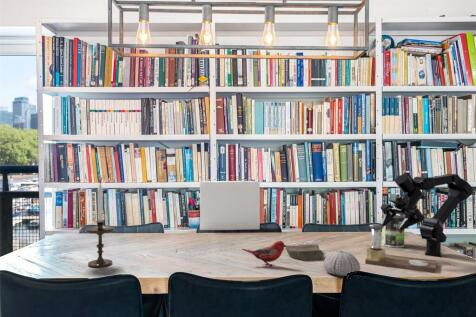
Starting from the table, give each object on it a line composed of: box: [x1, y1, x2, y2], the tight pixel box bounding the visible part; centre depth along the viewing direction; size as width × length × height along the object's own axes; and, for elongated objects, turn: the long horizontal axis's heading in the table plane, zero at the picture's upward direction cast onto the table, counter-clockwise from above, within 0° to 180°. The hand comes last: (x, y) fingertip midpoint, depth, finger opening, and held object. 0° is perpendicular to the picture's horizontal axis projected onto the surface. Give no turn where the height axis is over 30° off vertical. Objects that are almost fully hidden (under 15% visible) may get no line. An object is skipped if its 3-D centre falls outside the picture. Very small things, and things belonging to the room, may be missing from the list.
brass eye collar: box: [366, 246, 386, 261], centre depth 157 cm, size 7×7×4 cm
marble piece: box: [285, 243, 323, 261], centre depth 168 cm, size 17×15×4 cm
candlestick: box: [85, 176, 116, 269], centre depth 154 cm, size 11×11×35 cm
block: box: [199, 180, 261, 231], centre depth 231 cm, size 35×8×28 cm, turn 96°
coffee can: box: [381, 214, 405, 249], centre depth 188 cm, size 10×10×14 cm
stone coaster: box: [408, 260, 428, 266], centre depth 150 cm, size 7×7×1 cm
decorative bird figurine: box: [241, 240, 288, 267], centre depth 153 cm, size 3×18×10 cm, turn 81°
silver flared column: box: [369, 223, 383, 251], centre depth 157 cm, size 5×5×14 cm
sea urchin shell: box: [322, 250, 361, 277], centre depth 143 cm, size 13×14×8 cm
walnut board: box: [364, 253, 438, 273], centre depth 155 cm, size 13×25×2 cm, turn 60°
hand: (390, 227), depth 160 cm, fingers open, 9 cm apart
